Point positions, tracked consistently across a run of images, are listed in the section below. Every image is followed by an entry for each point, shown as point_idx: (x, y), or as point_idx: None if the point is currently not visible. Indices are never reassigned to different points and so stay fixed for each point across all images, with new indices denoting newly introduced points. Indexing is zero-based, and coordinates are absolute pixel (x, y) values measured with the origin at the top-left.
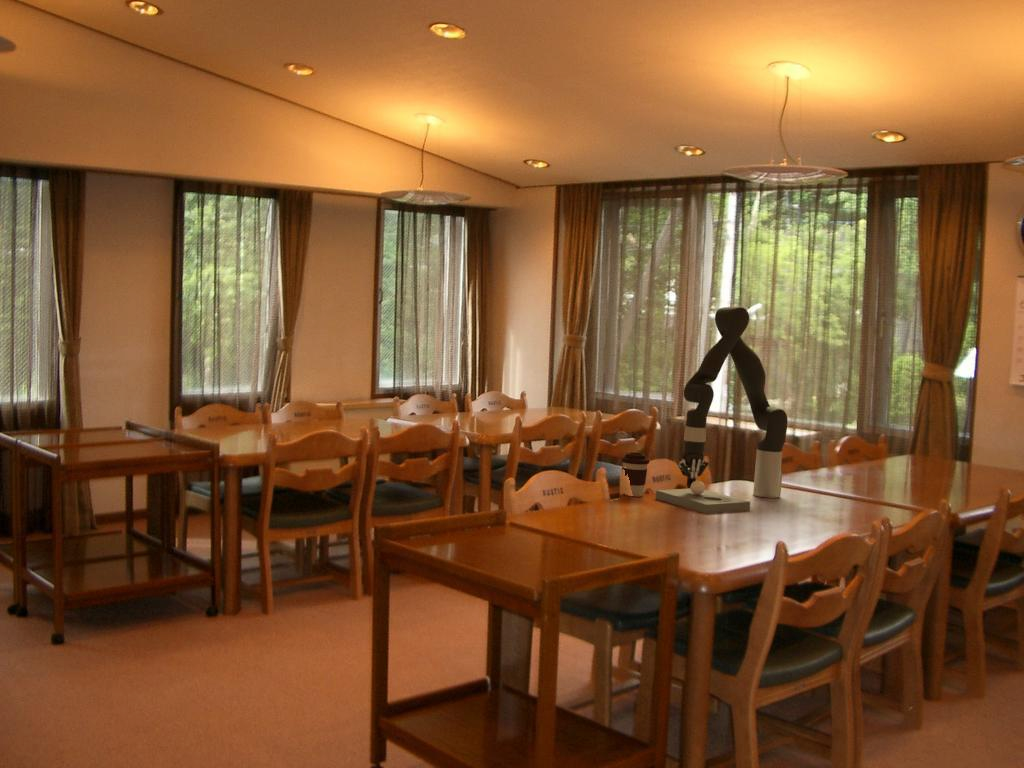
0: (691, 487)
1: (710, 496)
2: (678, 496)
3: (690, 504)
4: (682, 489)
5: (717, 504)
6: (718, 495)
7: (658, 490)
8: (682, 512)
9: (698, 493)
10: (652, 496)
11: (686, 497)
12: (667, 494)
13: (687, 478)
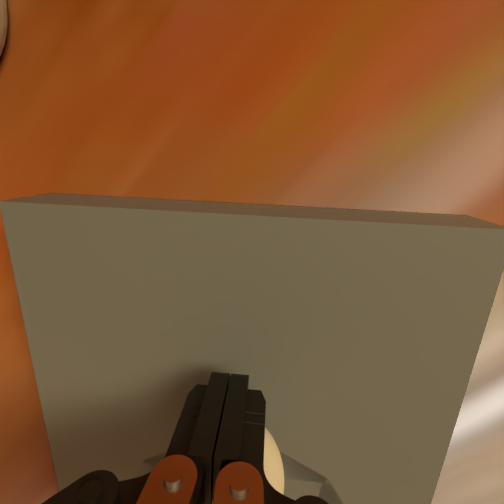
0: None
1: None
2: (49, 424)
3: None
4: (281, 234)
5: None
6: (368, 488)
7: (17, 208)
8: (8, 493)
9: None
10: (79, 101)
11: (85, 459)
12: (30, 328)
13: (165, 456)
